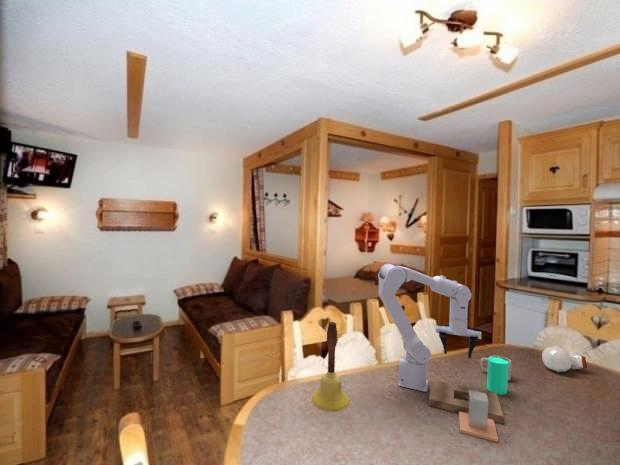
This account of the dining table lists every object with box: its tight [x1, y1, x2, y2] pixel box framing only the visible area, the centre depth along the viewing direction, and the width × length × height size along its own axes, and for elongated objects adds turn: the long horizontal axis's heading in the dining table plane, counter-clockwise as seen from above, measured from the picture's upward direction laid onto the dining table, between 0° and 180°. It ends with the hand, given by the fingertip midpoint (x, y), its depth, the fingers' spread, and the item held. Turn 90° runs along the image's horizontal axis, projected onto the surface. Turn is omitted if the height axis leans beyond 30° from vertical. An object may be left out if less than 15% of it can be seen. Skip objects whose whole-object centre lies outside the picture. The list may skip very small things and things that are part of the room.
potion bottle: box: [541, 345, 588, 373], centre depth 122 cm, size 9×10×15 cm
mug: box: [480, 354, 512, 382], centre depth 117 cm, size 10×7×7 cm
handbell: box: [311, 321, 350, 412], centre depth 98 cm, size 12×12×25 cm
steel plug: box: [467, 390, 488, 431], centre depth 87 cm, size 4×4×8 cm
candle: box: [486, 355, 508, 396], centre depth 106 cm, size 6×6×12 cm
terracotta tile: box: [458, 411, 499, 443], centre depth 86 cm, size 9×9×1 cm
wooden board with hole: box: [428, 379, 505, 425], centre depth 98 cm, size 20×13×2 cm, turn 66°
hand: (457, 355), depth 110 cm, fingers open, 7 cm apart
